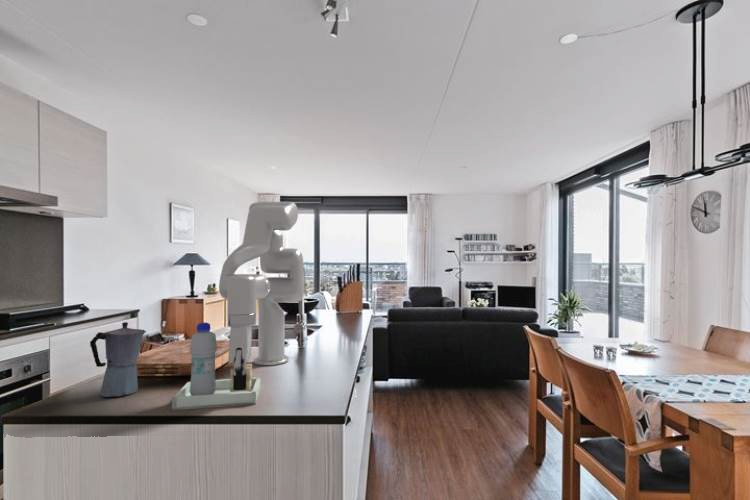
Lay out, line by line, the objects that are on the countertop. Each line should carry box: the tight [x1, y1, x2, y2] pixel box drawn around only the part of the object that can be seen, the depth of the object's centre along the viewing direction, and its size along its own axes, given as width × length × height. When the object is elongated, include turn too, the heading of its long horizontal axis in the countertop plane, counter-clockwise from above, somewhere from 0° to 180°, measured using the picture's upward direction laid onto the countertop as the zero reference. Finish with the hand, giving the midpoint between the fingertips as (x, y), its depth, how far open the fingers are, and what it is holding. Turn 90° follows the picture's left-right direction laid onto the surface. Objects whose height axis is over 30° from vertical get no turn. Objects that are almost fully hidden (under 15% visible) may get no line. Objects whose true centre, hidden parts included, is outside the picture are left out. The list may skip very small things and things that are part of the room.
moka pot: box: [89, 321, 147, 398], centre depth 109 cm, size 10×15×20 cm, turn 161°
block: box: [229, 363, 253, 392], centre depth 106 cm, size 5×5×6 cm
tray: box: [171, 376, 262, 411], centre depth 104 cm, size 14×20×3 cm
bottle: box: [189, 322, 218, 396], centre depth 104 cm, size 7×7×20 cm
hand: (241, 385), depth 105 cm, fingers closed on block, 5 cm apart
